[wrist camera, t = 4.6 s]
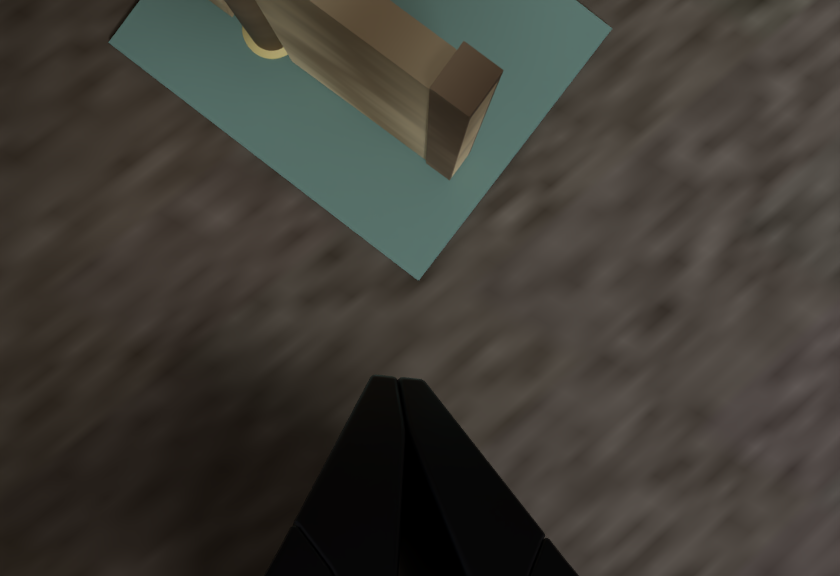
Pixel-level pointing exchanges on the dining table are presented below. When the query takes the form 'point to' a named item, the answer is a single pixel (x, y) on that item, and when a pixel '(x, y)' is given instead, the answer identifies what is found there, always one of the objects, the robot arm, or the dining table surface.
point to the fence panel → (391, 71)
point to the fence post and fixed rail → (251, 22)
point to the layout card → (349, 128)
